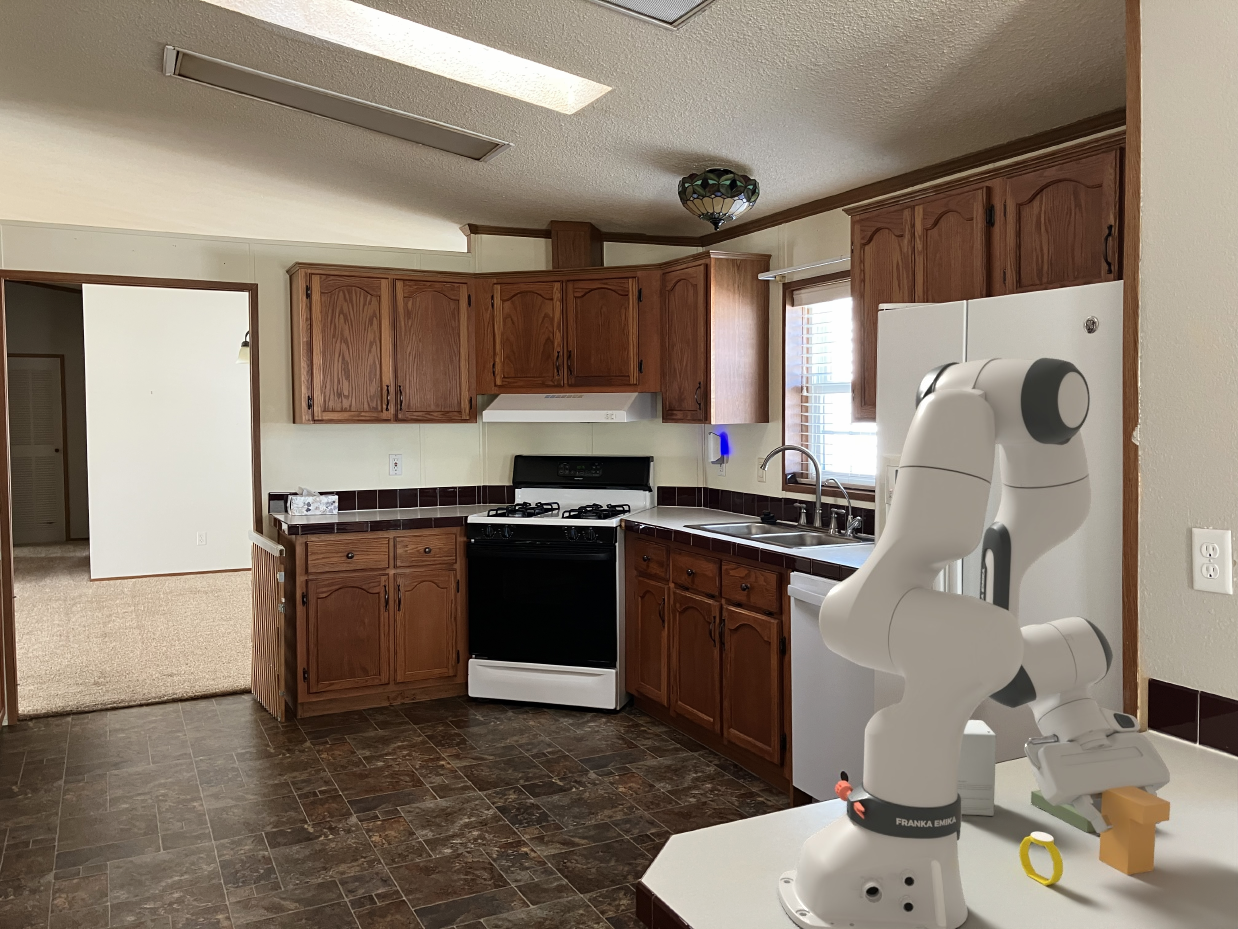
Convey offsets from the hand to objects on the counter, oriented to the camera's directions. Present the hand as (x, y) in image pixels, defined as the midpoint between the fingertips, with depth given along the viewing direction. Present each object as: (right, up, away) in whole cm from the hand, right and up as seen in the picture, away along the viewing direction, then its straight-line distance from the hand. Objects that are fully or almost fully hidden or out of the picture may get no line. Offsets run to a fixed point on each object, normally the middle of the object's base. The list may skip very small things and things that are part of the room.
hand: (1131, 827), depth 129 cm
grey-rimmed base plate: (+3, -5, +18) cm, 19 cm away
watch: (-14, -6, -4) cm, 16 cm away
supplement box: (-16, -4, +20) cm, 26 cm away
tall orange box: (0, -5, +1) cm, 5 cm away
